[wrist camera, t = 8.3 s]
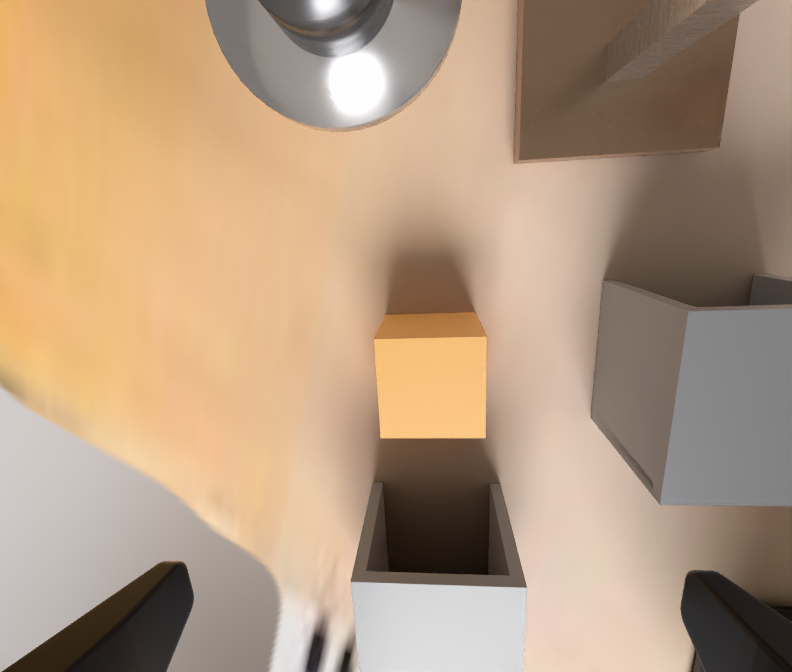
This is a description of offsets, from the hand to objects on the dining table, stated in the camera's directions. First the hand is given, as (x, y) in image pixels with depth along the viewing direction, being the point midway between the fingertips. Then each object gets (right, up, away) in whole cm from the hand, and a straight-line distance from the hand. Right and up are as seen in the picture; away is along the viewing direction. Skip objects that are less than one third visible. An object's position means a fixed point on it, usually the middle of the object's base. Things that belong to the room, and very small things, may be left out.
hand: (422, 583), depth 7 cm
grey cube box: (+12, +4, +10) cm, 16 cm away
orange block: (+1, +4, +11) cm, 12 cm away
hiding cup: (+2, -6, +14) cm, 15 cm away
